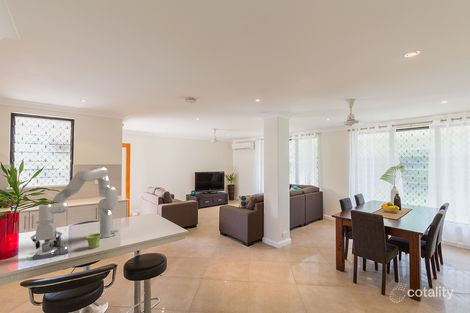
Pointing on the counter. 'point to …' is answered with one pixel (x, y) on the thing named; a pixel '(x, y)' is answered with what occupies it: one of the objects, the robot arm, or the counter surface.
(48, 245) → the spacer
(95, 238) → the plant pot
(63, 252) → the spacer
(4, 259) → the counter surface
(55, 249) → the scale
